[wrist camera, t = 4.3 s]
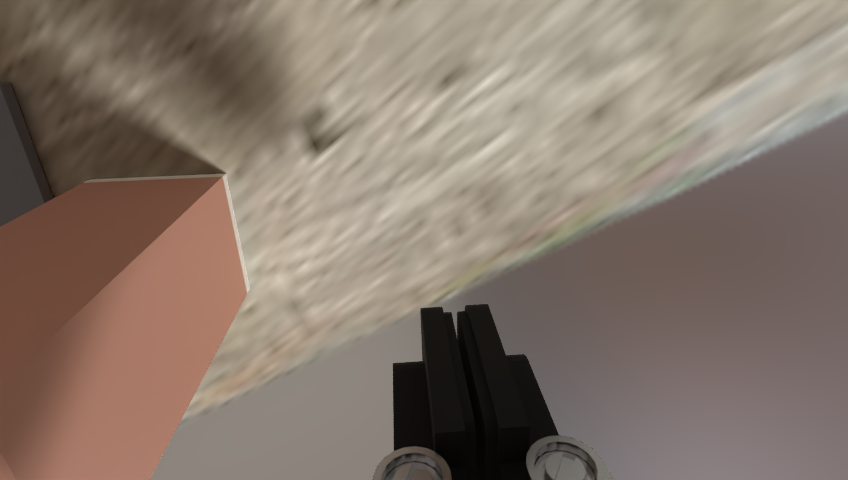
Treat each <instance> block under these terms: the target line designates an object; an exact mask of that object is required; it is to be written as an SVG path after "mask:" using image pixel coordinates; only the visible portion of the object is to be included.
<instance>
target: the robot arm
mask: <svg viewBox="0 0 848 480" xmlns="http://www.w3.org/2000/svg"><path fill="white" fill-rule="evenodd" d="M421 334H422V355H423V356H422V357H423V361H420V362H406V363H393V403H394V405H393V406H394V408H393V409H394V451H393V452H392V453H390V454H389V455H387V456H386V457H384V458H383V460H382V461H381V462H380V463H379V465H378V466H377V468H376V470H375V473H374V476H373V480H615V478H614V477H613V476H612V474H611V472H610V471H609V470H608V468H607V466H606V465H605V463H604V462H603V461H602V459H601V458H600V457H599V456H598V454H597V453H596V452H595V451H594V450H593V449H592V448H591V447H589V446H588V445H586V444H585V443H583V442H581V441H579V440H576V439H574V438H571V437H566V436H560V435H559V434H558V432H557V430H556V427H555V425H554V423H553V420H552V417H551V415H550V412H549V410H548V408H547V405H546V403H545V400H544V398H543V395H542V393H541V391H540V388H539V386H538V383H537V381H536V379H535V376H534V373H533V371H532V369H531V366H530V364H529V361H528V359H527V357H526V356H525V355H524V354H522V355H507V356H506V355H505V352H504V349H503V346H502V343H501V340H500V337H499V335H498V332H497V329H496V326H495V323H494V320H493V317H492V315H491V312H490V309H489V306H488V304H480V305H466V306H465V311H462V312H458V313H457V337H456V332H455V327H454V323H453V318H452V313H451V312H445V313H443V308H442V307H433V308H421Z"/></svg>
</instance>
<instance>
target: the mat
mask: <svg viewBox="0 0 848 480" xmlns="http://www.w3.org/2000/svg"><path fill="white" fill-rule="evenodd" d="M52 199H53V196H52V194H51V191H50V188H49V185H48V183H47V180H46V177H45V175H44V172H43V169H42V167H41V164H40V161H39V159H38V156H37V153H36V150H35V148H34V145H33V142H32V140H31V137H30V134H29V132H28V129H27V126H26V124H25V121H24V118H23V115H22V113H21V110H20V107H19V105H18V102H17V99H16V97H15V94H14V91H13V89H12V86H11V83H0V227H1V226H3V225H5V224H6V223H8V222H10V221H12V220H14V219H16V218H18V217H20V216H22V215H23V214H25V213H27V212H29V211H31V210H33V209H35V208H37V207H38V206H40V205H42V204H44V203H46V202H48V201H50V200H52Z"/></svg>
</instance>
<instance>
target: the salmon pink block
mask: <svg viewBox="0 0 848 480" xmlns="http://www.w3.org/2000/svg"><path fill="white" fill-rule="evenodd" d="M249 289H250V287H249V282H248V277H247V272H246V267H245V263H244V258H243V253H242V248H241V243H240V238H239V234H238V229H237V224H236V219H235V214H234V209H233V205H232V200H231V195H230V190H229V185H228V180H227V176H226V173H225V174H202V175H179V176H156V177H133V178H110V179H89V180H87V181H85V182H83V183H82V184H80V185H78V186H76V187H74V188H72V189H70V190H68V191H67V192H65V193H63V194H61V195H59V196H57V197H55V198H53V199H52V200H50V201H48V202H46V203H44V204H42V205H40V206H38V207H37V208H35V209H33V210H31V211H29V212H27V213H25V214H23V215H22V216H20V217H18V218H16V219H14V220H12V221H10V222H8V223H6V224H5V225H3V226H1V227H0V480H150V478H151V476H152V474H153V472H154V471H155V469H156V467H157V465H158V463H159V461H160V459H161V457H162V455H163V453H164V451H165V450H166V448H167V446H168V444H169V442H170V440H171V438H172V436H173V434H174V432H175V430H176V429H177V427H178V425H179V423H180V421H181V419H182V417H183V415H184V413H185V411H186V409H187V408H188V406H189V404H190V402H191V400H192V398H193V396H194V394H195V392H196V390H197V388H198V387H199V385H200V383H201V381H202V379H203V377H204V375H205V373H206V371H207V369H208V367H209V365H210V364H211V362H212V360H213V358H214V356H215V354H216V352H217V350H218V348H219V346H220V344H221V343H222V341H223V339H224V337H225V335H226V333H227V331H228V329H229V327H230V325H231V323H232V322H233V320H234V318H235V316H236V314H237V312H238V310H239V308H240V306H241V304H242V302H243V301H244V299H245V297H246V295H247V293H248V291H249Z"/></svg>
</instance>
